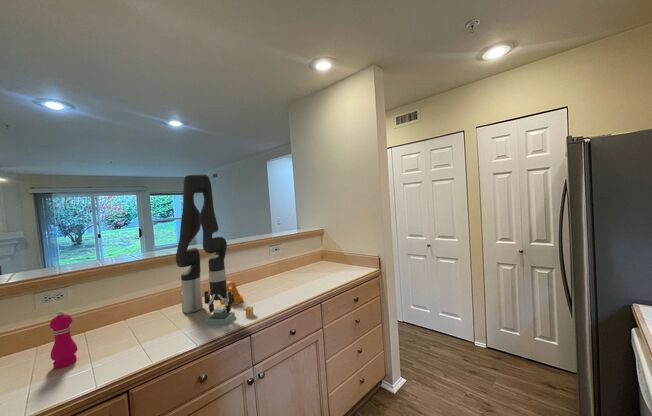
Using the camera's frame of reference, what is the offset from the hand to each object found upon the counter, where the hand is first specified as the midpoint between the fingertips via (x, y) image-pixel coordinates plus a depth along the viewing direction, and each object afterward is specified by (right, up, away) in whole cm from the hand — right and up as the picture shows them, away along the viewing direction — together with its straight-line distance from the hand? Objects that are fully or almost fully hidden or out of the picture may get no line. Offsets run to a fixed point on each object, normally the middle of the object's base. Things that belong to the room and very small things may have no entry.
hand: (220, 312), depth 129 cm
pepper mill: (-47, -8, -29) cm, 55 cm away
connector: (0, -4, 0) cm, 4 cm away
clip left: (-3, -4, +9) cm, 10 cm away
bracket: (-2, -4, +23) cm, 23 cm away
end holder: (0, -4, 0) cm, 4 cm away
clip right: (+13, -3, +4) cm, 14 cm away
